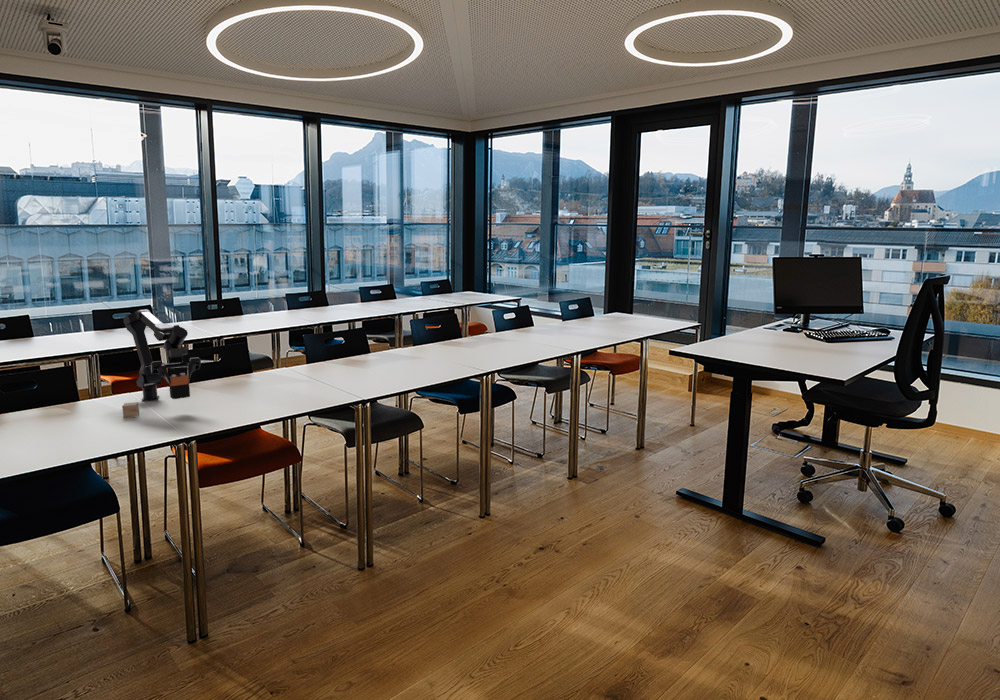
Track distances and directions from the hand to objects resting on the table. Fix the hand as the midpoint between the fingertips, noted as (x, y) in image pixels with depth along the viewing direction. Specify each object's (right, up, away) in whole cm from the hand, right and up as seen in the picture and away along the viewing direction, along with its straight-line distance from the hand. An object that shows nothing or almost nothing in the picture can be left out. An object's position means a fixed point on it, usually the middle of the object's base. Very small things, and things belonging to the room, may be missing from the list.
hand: (179, 382), depth 280 cm
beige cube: (-19, -14, -2) cm, 23 cm away
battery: (-1, -7, +2) cm, 7 cm away
